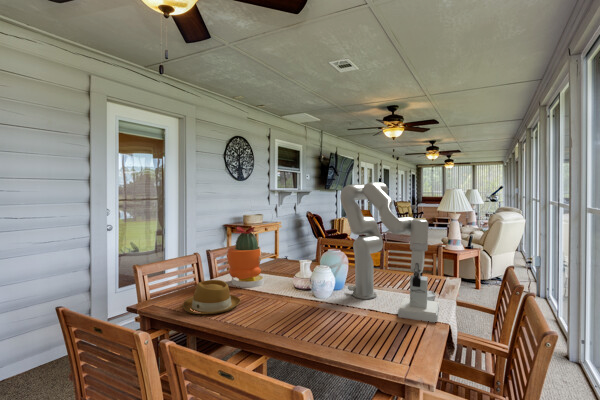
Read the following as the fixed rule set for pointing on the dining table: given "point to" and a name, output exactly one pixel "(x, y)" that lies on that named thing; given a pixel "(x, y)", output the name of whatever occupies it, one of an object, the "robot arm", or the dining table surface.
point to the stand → (419, 311)
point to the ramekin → (430, 295)
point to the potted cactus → (245, 260)
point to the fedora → (211, 298)
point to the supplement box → (419, 293)
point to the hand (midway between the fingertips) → (417, 283)
